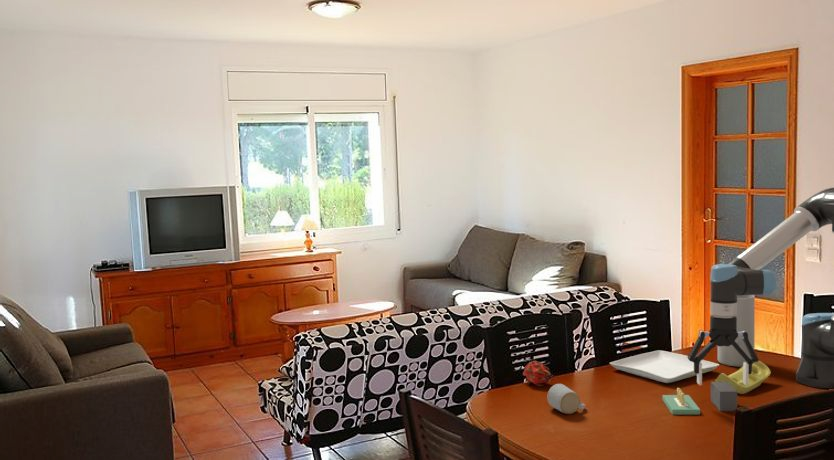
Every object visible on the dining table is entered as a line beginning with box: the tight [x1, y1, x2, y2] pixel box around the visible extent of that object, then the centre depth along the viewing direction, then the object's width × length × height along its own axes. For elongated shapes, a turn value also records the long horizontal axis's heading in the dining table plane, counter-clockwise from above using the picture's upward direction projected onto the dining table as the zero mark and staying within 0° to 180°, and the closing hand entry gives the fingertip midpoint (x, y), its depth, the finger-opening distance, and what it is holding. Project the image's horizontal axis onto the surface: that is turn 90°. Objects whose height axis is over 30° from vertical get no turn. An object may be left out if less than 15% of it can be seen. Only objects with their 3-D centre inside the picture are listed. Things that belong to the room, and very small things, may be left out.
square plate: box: [609, 349, 720, 384], centre depth 272 cm, size 27×27×4 cm
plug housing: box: [710, 381, 738, 412], centre depth 235 cm, size 14×5×6 cm, turn 174°
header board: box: [662, 387, 701, 415], centre depth 234 cm, size 8×14×5 cm, turn 174°
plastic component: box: [713, 360, 771, 395], centre depth 253 cm, size 20×7×10 cm
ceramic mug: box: [546, 383, 586, 415], centre depth 235 cm, size 11×8×8 cm
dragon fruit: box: [522, 360, 554, 387], centre depth 263 cm, size 8×8×12 cm
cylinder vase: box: [717, 295, 756, 368], centre depth 279 cm, size 12×12×25 cm
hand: (722, 384), depth 233 cm, fingers open, 13 cm apart
